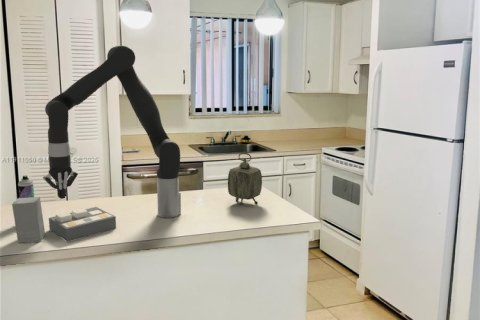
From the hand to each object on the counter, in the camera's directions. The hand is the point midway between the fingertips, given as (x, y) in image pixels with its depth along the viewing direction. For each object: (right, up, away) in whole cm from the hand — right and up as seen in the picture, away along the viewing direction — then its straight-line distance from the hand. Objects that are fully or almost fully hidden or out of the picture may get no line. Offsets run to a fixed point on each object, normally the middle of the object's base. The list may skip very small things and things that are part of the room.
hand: (62, 198), depth 169 cm
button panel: (+6, -13, +6) cm, 15 cm away
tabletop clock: (+70, -7, +40) cm, 81 cm away
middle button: (+5, -9, +7) cm, 12 cm away
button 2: (+9, -10, +12) cm, 18 cm away
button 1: (0, -9, +2) cm, 10 cm away
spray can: (-18, -11, +12) cm, 24 cm away
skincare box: (-10, -15, -5) cm, 19 cm away
